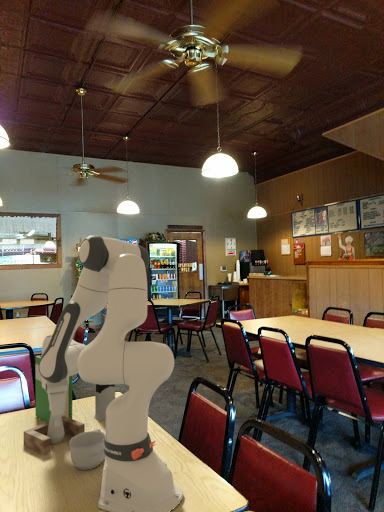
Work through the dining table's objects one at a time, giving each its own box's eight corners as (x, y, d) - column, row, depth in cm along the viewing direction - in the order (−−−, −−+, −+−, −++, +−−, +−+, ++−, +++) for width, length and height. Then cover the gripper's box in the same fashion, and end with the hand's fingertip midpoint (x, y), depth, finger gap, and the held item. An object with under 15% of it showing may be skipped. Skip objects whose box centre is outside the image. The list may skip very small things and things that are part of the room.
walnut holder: (84, 436, 131) (84, 423, 132) (43, 455, 119) (43, 440, 119) (64, 428, 139) (64, 416, 139) (23, 445, 126) (23, 431, 126)
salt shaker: (64, 443, 126) (64, 404, 127) (46, 446, 125) (46, 407, 125) (64, 436, 132) (64, 399, 132) (47, 439, 130) (47, 401, 131)
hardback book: (72, 423, 144) (71, 360, 144) (53, 428, 138) (53, 363, 139) (53, 410, 156) (53, 353, 157) (35, 415, 151) (35, 356, 152)
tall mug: (101, 422, 144) (100, 383, 144) (84, 412, 154) (83, 375, 155) (120, 416, 149) (120, 378, 150) (103, 406, 160) (102, 371, 160)
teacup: (93, 476, 106) (93, 448, 106) (61, 470, 109) (61, 443, 109) (118, 453, 119) (118, 428, 119) (89, 449, 122) (89, 424, 123)
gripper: (43, 374, 137) (44, 412, 137) (47, 389, 119) (47, 434, 118) (61, 371, 140) (62, 409, 139) (68, 387, 121) (68, 430, 121)
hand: (55, 420), depth 129 cm, fingers open, 8 cm apart
